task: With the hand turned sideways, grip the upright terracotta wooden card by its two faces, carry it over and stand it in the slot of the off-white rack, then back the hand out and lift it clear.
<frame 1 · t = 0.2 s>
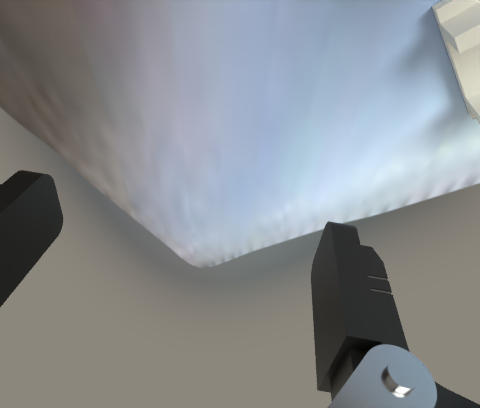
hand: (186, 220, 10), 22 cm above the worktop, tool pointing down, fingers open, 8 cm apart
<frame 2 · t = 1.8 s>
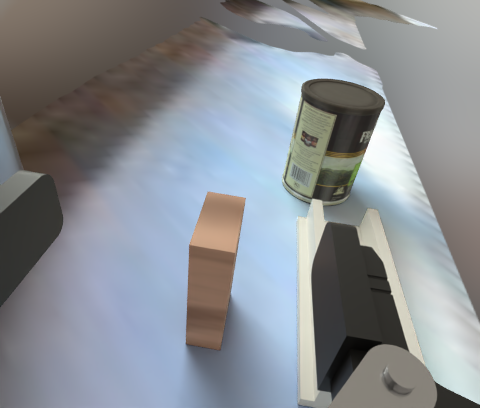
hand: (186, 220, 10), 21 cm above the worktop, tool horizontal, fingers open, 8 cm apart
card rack: (345, 299, 35), on the worktop
coffee can: (314, 185, 52), on the worktop
wooden card: (209, 317, 32), on the worktop
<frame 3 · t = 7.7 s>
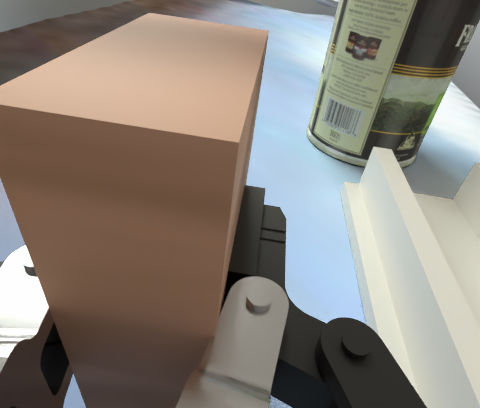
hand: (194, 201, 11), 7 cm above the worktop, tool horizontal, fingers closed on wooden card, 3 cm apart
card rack: (471, 341, 16), on the worktop
coffee can: (358, 143, 33), on the worktop
wooden card: (176, 376, 13), on the worktop, touching gripper
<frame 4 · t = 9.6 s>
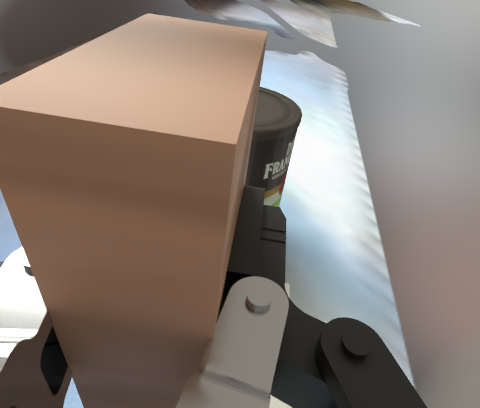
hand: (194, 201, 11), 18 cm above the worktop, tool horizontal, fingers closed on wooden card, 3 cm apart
coffee can: (224, 230, 37), on the worktop
wooden card: (175, 377, 13), point 11 cm above the worktop, touching gripper
when the fingers open (9 cm above the worktop, at t = 11.8 s): wooden card drops 1 cm, resting on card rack.
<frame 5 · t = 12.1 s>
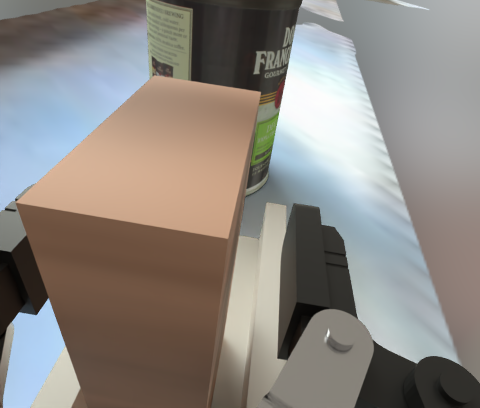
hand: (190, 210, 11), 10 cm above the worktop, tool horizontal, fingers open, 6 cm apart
coffee can: (211, 168, 31), on the worktop
wooden card: (176, 394, 14), point 1 cm above the worktop, touching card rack
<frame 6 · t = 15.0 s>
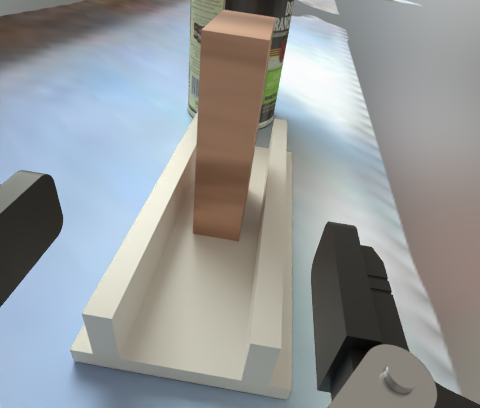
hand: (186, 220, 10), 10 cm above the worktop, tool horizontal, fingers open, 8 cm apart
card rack: (219, 226, 25), on the worktop
coffee can: (230, 113, 41), on the worktop
wooden card: (223, 209, 25), point 1 cm above the worktop, touching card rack
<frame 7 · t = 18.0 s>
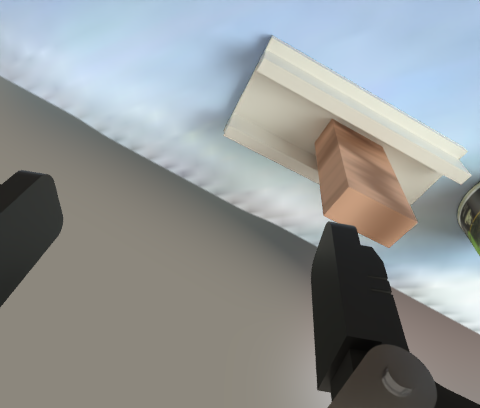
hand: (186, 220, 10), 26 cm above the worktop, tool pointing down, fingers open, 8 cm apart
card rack: (341, 136, 36), on the worktop
wooden card: (348, 144, 35), point 1 cm above the worktop, touching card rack
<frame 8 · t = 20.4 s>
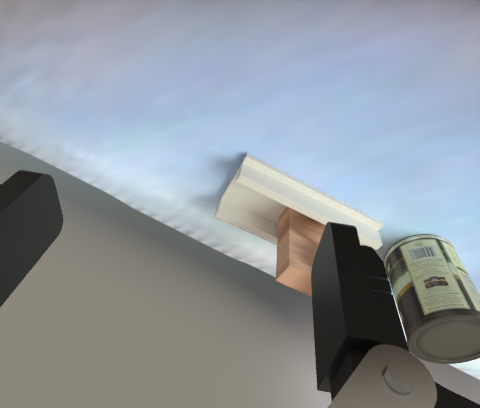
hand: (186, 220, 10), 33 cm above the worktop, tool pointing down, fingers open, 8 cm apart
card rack: (297, 212, 51), on the worktop
coffee can: (419, 257, 54), on the worktop
wooden card: (301, 219, 50), point 1 cm above the worktop, touching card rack
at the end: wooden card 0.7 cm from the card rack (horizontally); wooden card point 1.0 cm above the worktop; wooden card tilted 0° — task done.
